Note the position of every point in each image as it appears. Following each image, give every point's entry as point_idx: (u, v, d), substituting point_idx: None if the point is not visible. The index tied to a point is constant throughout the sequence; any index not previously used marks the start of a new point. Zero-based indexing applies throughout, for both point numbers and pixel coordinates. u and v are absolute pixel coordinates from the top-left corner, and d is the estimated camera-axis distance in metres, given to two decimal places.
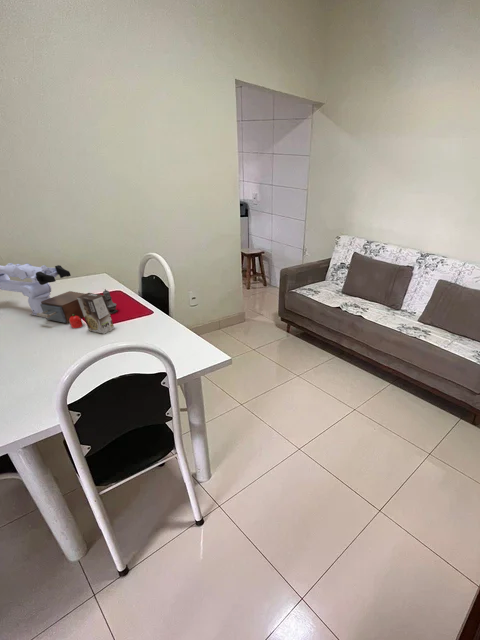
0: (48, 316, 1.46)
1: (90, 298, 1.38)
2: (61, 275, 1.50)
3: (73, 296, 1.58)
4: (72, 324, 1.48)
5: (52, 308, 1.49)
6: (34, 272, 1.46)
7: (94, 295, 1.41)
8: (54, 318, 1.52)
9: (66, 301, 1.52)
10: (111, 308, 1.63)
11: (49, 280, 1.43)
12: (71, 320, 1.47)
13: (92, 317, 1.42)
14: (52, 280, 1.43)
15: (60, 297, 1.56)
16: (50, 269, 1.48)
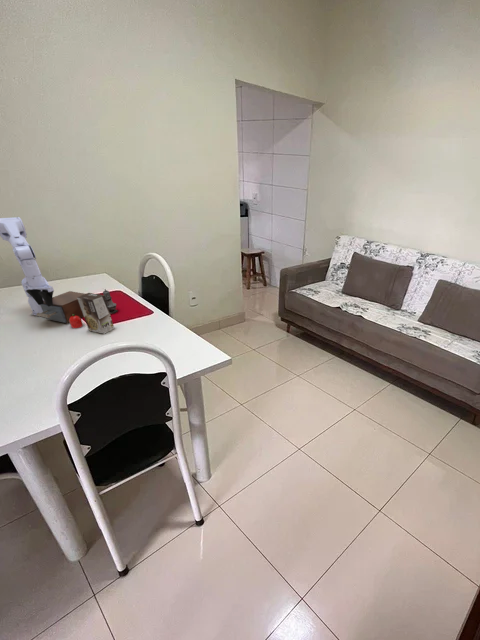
0: (48, 316, 1.46)
1: (90, 298, 1.38)
2: None
3: (73, 296, 1.58)
4: (72, 324, 1.48)
5: (52, 308, 1.49)
6: None
7: (94, 295, 1.41)
8: (54, 318, 1.52)
9: (66, 301, 1.52)
10: (111, 308, 1.63)
11: None
12: (71, 320, 1.47)
13: (92, 317, 1.42)
14: None
15: (60, 297, 1.56)
16: None
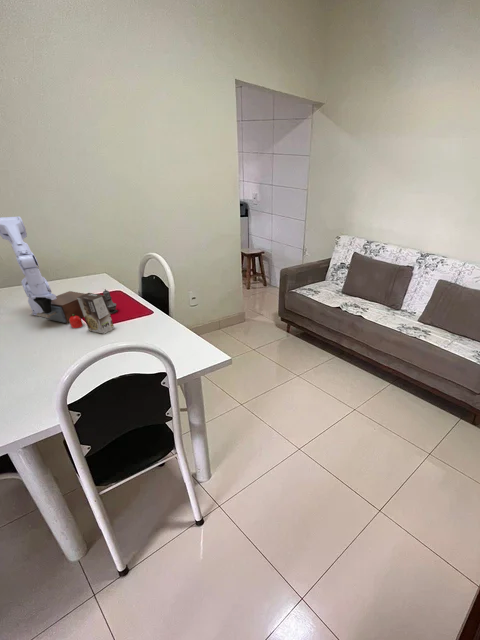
0: (48, 316, 1.46)
1: (90, 298, 1.38)
2: None
3: (73, 296, 1.58)
4: (72, 324, 1.48)
5: (52, 308, 1.49)
6: None
7: (94, 295, 1.41)
8: (54, 318, 1.52)
9: (66, 301, 1.52)
10: (111, 308, 1.63)
11: None
12: (71, 320, 1.47)
13: (92, 317, 1.42)
14: None
15: (60, 297, 1.56)
16: None
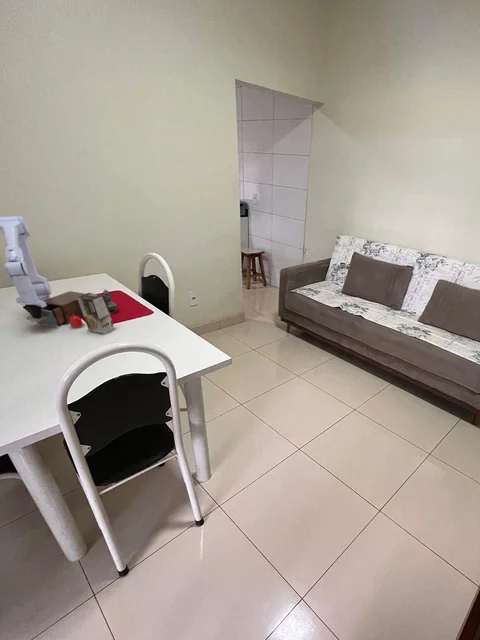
0: (38, 320, 1.42)
1: (90, 298, 1.38)
2: None
3: (73, 296, 1.58)
4: (72, 324, 1.48)
5: (42, 312, 1.45)
6: None
7: (94, 295, 1.41)
8: (44, 322, 1.48)
9: (66, 301, 1.52)
10: (111, 308, 1.63)
11: None
12: (71, 320, 1.47)
13: (92, 317, 1.42)
14: None
15: (60, 297, 1.56)
16: None
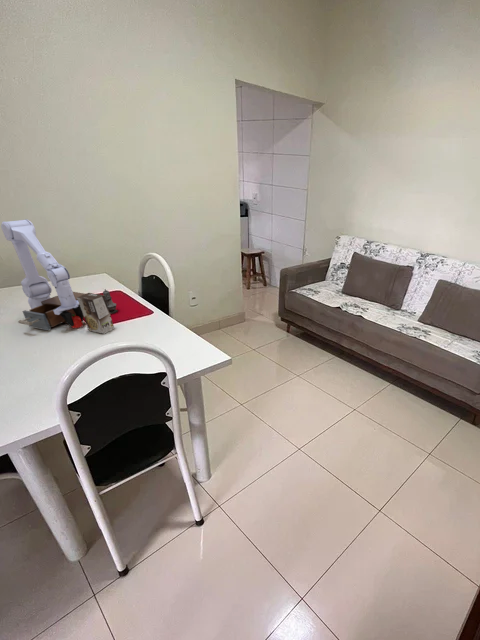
0: (30, 323, 1.40)
1: (90, 298, 1.38)
2: (74, 310, 1.50)
3: None
4: None
5: (35, 315, 1.42)
6: (64, 299, 1.41)
7: (94, 295, 1.41)
8: (37, 325, 1.45)
9: None
10: (111, 308, 1.63)
11: (67, 320, 1.47)
12: None
13: (92, 317, 1.42)
14: (69, 324, 1.48)
15: None
16: None
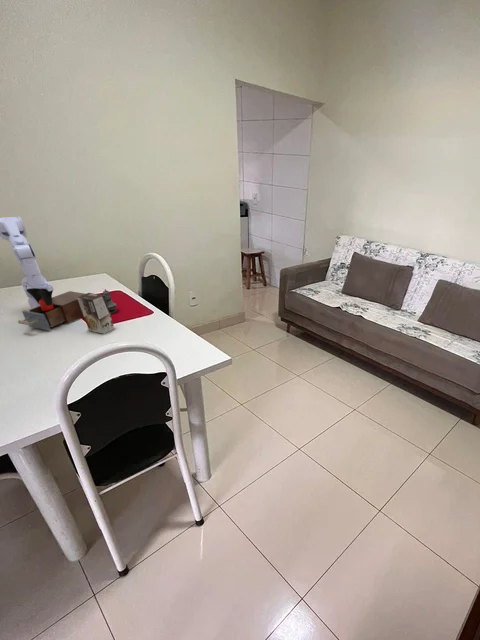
0: (30, 324, 1.39)
1: (90, 298, 1.38)
2: None
3: (73, 296, 1.58)
4: None
5: (34, 315, 1.42)
6: None
7: (94, 295, 1.41)
8: (37, 325, 1.45)
9: (66, 301, 1.52)
10: (111, 308, 1.63)
11: None
12: None
13: (92, 317, 1.42)
14: None
15: (60, 297, 1.56)
16: None
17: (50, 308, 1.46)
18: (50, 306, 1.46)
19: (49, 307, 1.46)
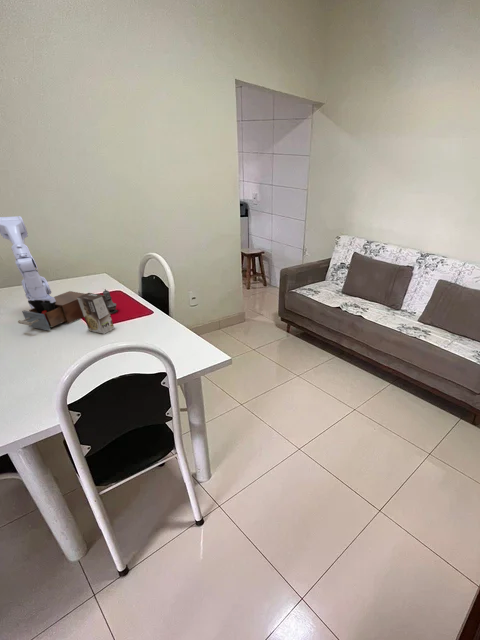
0: (30, 324, 1.39)
1: (90, 298, 1.38)
2: None
3: (73, 296, 1.58)
4: None
5: (34, 315, 1.42)
6: None
7: (94, 295, 1.41)
8: (37, 325, 1.45)
9: (66, 301, 1.52)
10: (111, 308, 1.63)
11: None
12: None
13: (92, 317, 1.42)
14: None
15: (60, 297, 1.56)
16: None
17: None
18: None
19: None
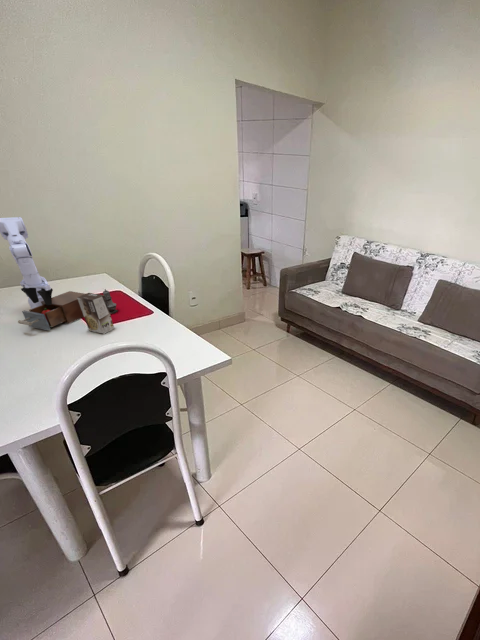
0: (30, 324, 1.39)
1: (90, 298, 1.38)
2: None
3: (73, 296, 1.58)
4: None
5: (34, 315, 1.42)
6: None
7: (94, 295, 1.41)
8: (37, 325, 1.45)
9: (66, 301, 1.52)
10: (111, 308, 1.63)
11: None
12: None
13: (92, 317, 1.42)
14: None
15: (60, 297, 1.56)
16: None
17: None
18: None
19: None
